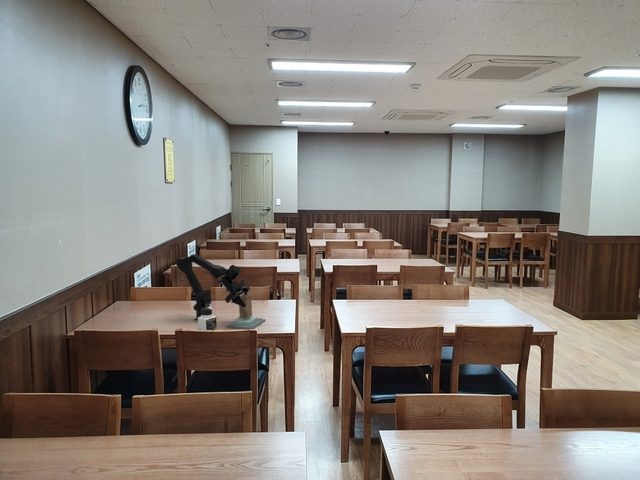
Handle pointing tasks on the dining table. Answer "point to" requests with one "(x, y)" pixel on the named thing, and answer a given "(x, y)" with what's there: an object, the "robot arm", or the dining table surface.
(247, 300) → the walnut pillar
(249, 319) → the base plate
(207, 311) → the medicine bottle
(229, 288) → the robot arm
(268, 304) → the dining table surface
